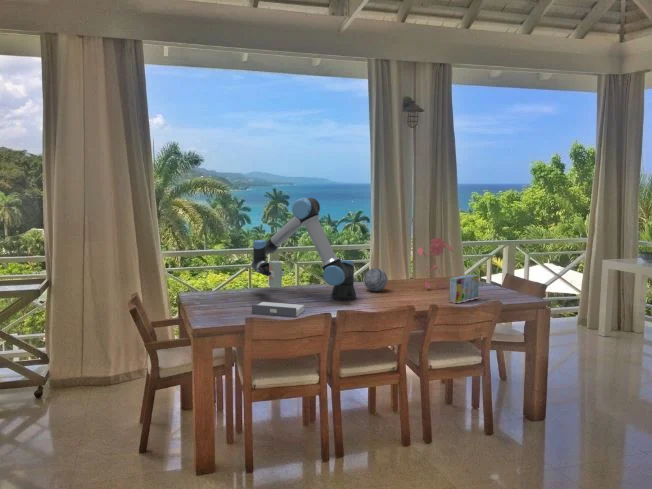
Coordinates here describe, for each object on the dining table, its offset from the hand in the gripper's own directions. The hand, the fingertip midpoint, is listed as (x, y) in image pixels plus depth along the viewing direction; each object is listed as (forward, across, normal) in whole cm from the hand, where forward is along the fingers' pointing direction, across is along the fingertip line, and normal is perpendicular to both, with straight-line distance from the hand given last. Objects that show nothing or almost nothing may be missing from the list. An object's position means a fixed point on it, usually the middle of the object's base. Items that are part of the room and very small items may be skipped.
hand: (278, 274), depth 290 cm
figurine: (-5, -112, -18) cm, 114 cm away
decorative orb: (-17, -73, -18) cm, 77 cm away
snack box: (+27, -107, -18) cm, 112 cm away
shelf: (+12, +4, -18) cm, 22 cm away
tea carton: (-5, 0, -8) cm, 9 cm away
